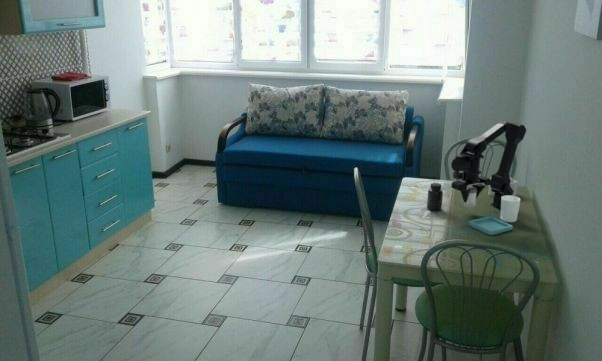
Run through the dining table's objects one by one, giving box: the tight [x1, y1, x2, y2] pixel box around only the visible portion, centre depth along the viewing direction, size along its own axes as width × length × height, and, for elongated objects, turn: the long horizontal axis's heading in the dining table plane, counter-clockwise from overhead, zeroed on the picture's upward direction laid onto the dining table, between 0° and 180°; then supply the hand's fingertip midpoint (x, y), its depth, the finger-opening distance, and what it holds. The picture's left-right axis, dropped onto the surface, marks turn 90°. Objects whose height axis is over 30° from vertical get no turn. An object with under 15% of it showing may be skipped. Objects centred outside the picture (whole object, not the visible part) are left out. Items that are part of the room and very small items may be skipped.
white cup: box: [500, 195, 521, 223], centre depth 244 cm, size 8×8×10 cm
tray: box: [468, 215, 514, 236], centre depth 237 cm, size 13×13×2 cm
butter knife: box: [421, 209, 432, 220], centre depth 246 cm, size 1×24×3 cm
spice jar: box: [463, 186, 477, 209], centre depth 250 cm, size 5×5×8 cm
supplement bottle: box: [426, 182, 444, 212], centre depth 257 cm, size 7×7×12 cm
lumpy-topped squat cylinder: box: [488, 176, 518, 197], centre depth 277 cm, size 10×13×9 cm
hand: (469, 201), depth 251 cm, fingers closed on spice jar, 5 cm apart
